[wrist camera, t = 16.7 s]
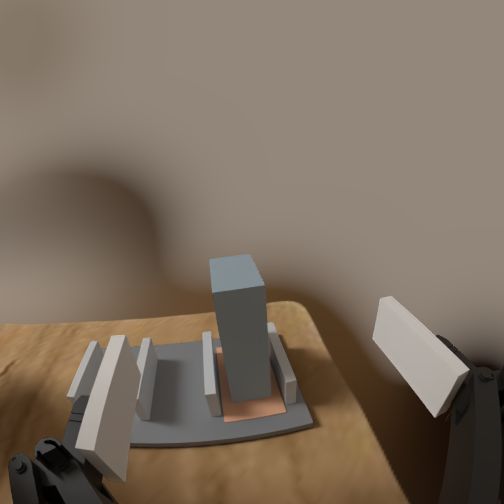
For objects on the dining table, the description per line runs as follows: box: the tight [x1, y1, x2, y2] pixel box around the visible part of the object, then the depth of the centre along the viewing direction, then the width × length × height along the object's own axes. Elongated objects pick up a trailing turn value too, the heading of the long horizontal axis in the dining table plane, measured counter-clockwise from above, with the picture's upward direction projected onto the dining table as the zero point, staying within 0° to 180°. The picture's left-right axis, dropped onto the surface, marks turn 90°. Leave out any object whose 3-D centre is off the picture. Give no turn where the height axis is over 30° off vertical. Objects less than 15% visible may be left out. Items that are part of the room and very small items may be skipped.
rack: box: [66, 322, 313, 447], centre depth 28 cm, size 25×16×4 cm, turn 99°
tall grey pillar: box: [209, 254, 272, 403], centre depth 27 cm, size 4×7×13 cm, turn 10°
